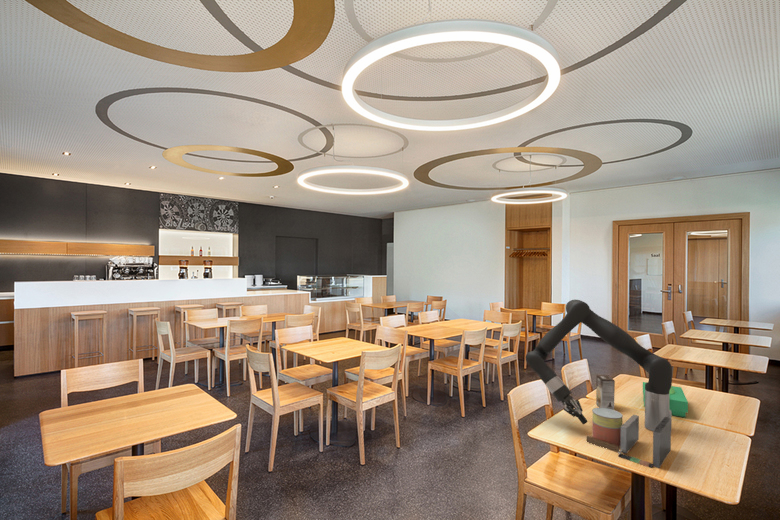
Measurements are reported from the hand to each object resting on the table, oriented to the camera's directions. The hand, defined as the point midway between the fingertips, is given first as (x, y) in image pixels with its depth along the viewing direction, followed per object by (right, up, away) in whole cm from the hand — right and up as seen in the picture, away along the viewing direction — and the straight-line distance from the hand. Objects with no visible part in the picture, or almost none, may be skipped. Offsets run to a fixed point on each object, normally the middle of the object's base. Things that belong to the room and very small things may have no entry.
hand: (585, 423), depth 169 cm
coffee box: (+26, -6, +31) cm, 41 cm away
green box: (+57, -6, +31) cm, 65 cm away
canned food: (+6, -5, -6) cm, 10 cm away
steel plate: (+11, -4, -13) cm, 18 cm away
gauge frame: (+10, -5, -12) cm, 17 cm away
